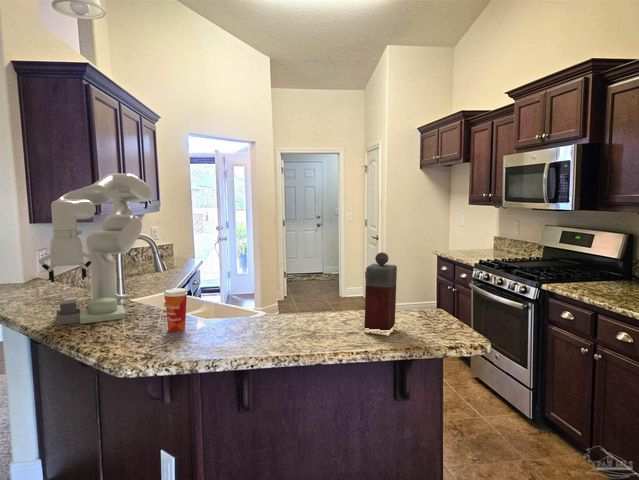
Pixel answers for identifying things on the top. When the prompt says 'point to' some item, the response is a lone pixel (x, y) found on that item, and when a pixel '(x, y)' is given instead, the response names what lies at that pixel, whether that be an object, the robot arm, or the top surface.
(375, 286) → the square decanter
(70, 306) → the grey rectangular block
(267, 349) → the top surface
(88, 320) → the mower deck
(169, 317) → the paper cup
